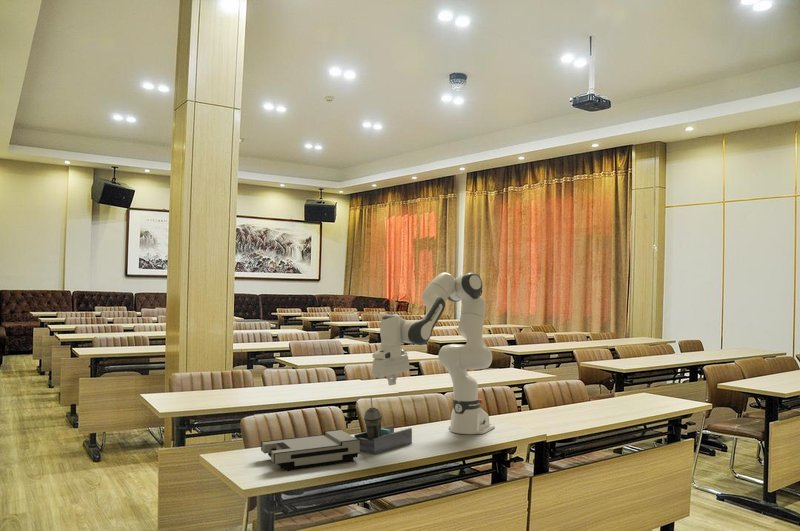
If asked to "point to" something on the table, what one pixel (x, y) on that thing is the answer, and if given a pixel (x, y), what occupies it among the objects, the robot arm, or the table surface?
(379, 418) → the beverage cup
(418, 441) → the table surface
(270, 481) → the table surface
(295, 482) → the table surface
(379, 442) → the grey open box
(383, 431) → the pusher
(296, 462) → the game console
